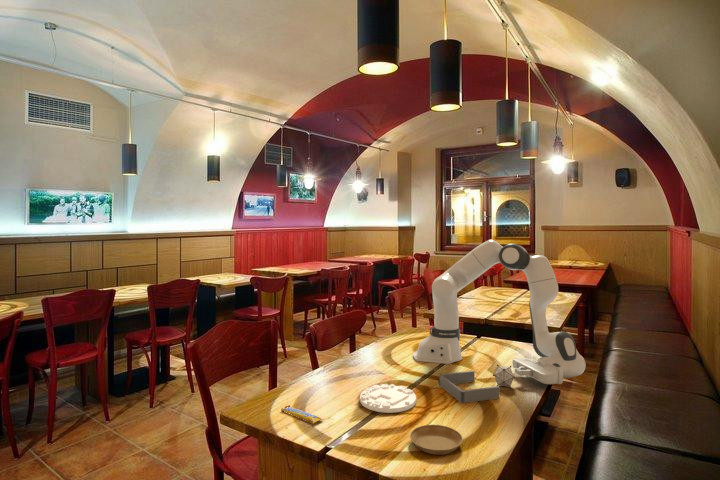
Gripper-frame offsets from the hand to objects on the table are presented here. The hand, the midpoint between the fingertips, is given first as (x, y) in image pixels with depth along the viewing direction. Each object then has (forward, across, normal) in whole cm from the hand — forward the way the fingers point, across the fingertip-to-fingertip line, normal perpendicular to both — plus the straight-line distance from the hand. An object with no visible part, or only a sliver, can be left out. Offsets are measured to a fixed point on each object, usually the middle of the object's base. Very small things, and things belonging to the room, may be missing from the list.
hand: (516, 372), depth 168 cm
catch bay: (+21, 0, +5) cm, 21 cm away
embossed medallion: (+53, 0, +6) cm, 53 cm away
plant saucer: (+50, +32, +5) cm, 59 cm away
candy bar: (+84, +3, +6) cm, 84 cm away
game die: (+6, 0, +5) cm, 8 cm away
